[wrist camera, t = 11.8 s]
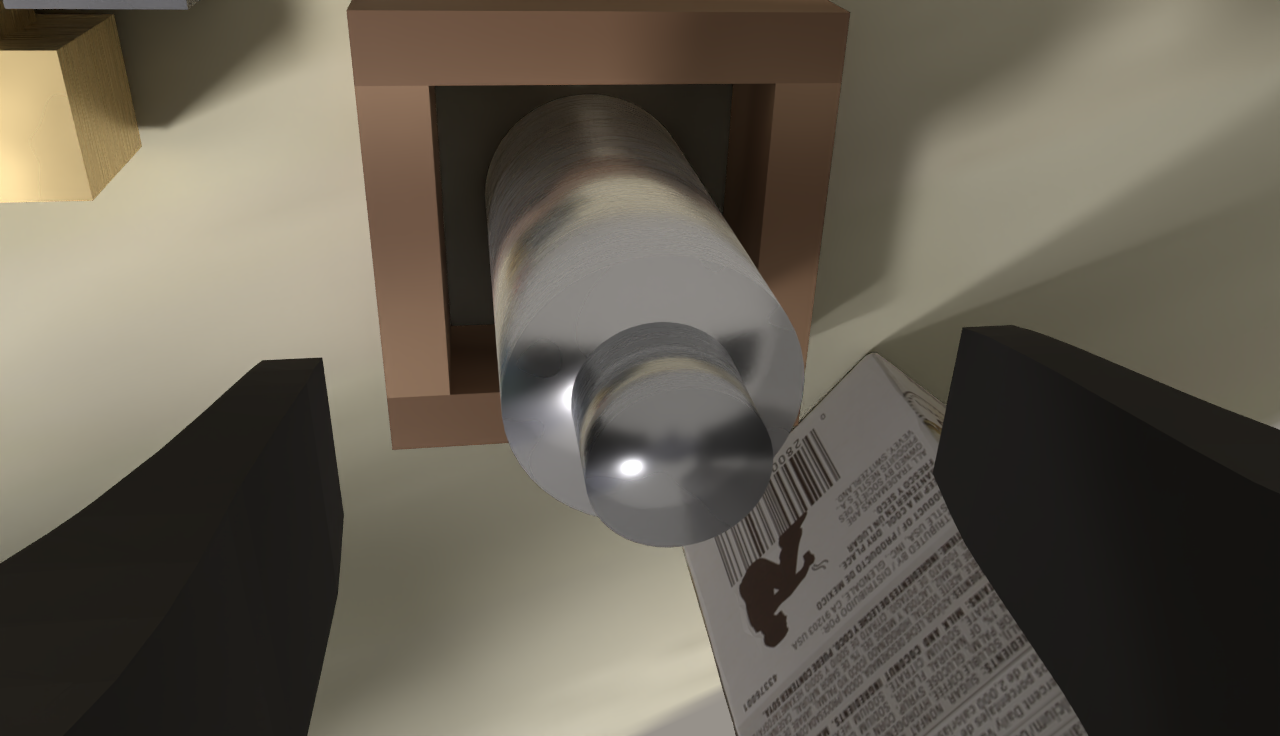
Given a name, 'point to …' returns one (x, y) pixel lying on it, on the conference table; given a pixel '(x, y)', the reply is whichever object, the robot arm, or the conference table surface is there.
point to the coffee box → (865, 588)
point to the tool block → (99, 4)
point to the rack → (577, 55)
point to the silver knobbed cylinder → (632, 327)
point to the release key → (62, 106)
